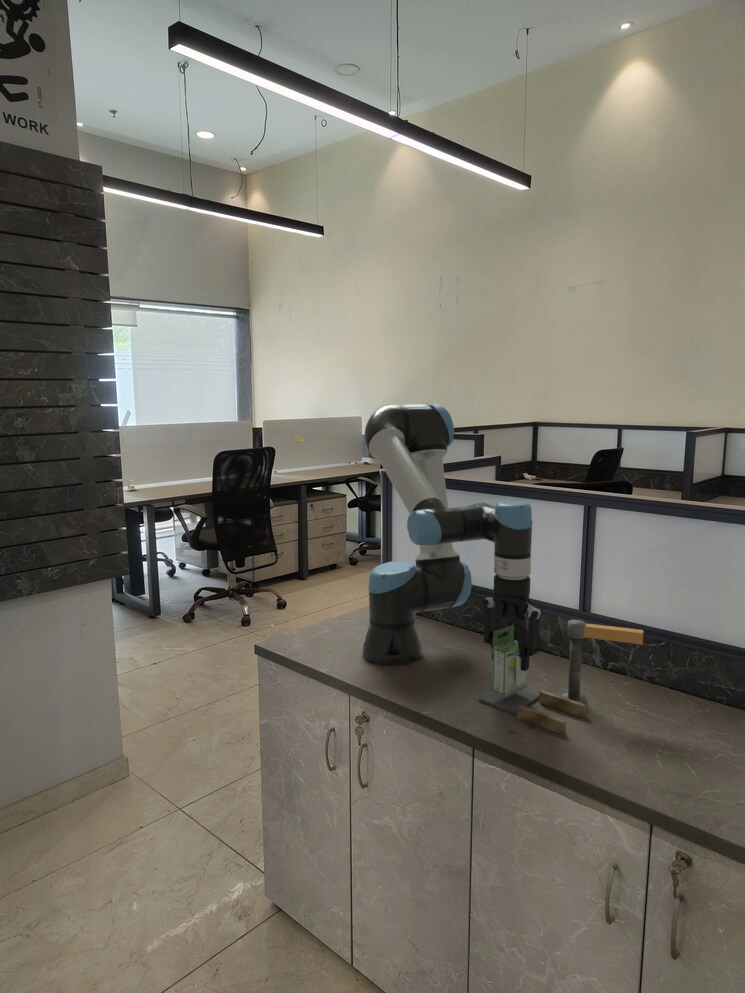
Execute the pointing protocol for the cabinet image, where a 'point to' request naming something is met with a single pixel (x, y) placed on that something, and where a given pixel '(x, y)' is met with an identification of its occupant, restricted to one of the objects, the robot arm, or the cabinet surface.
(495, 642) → the ink box
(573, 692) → the dock
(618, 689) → the cabinet surface
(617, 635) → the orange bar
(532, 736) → the cabinet surface
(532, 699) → the pad
